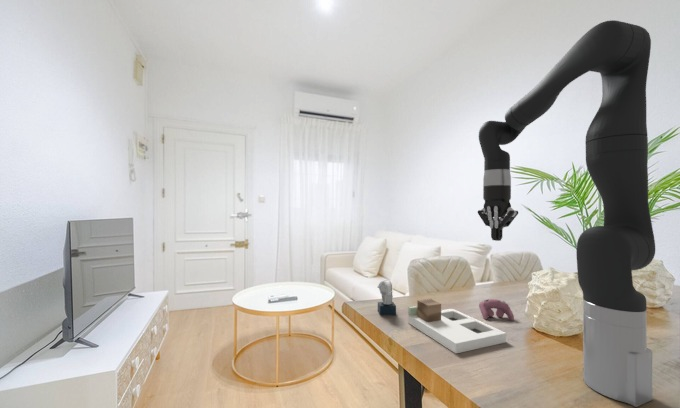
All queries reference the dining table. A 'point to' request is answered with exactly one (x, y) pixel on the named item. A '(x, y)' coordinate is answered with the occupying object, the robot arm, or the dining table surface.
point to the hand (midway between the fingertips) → (496, 240)
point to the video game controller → (499, 305)
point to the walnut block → (429, 310)
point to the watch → (386, 299)
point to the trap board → (457, 330)
